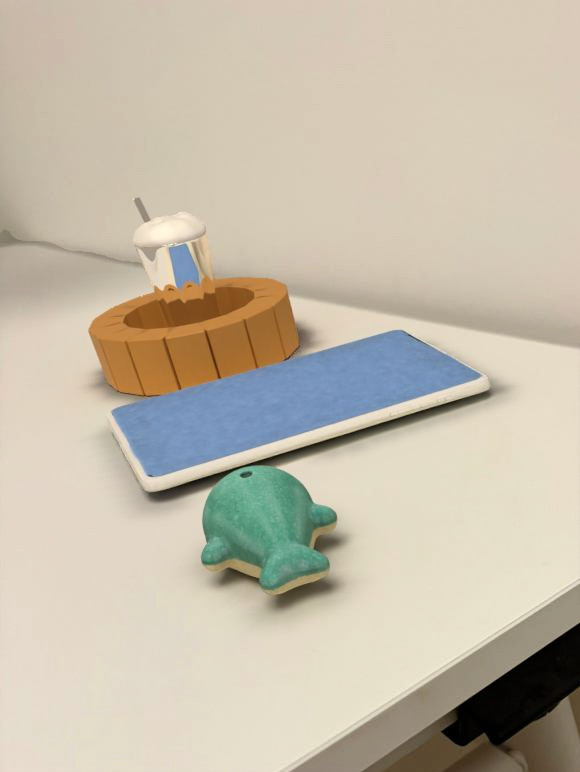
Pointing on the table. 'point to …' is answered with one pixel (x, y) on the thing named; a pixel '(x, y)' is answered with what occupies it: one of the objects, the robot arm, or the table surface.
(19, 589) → the table surface
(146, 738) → the table surface
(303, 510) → the whale figurine
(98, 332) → the segmented bracelet
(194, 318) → the milkshake
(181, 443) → the tablet
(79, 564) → the table surface
